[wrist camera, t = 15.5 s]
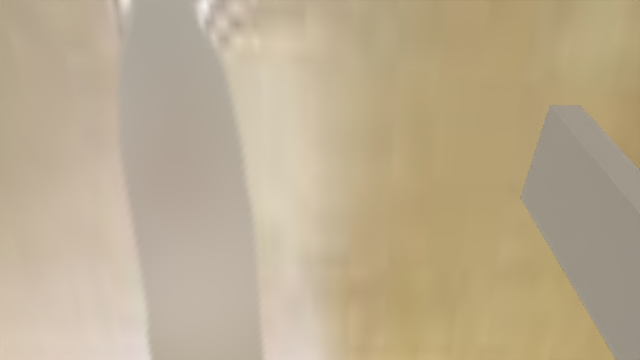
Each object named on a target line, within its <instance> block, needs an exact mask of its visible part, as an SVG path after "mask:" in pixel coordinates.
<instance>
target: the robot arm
mask: <svg viewBox="0 0 640 360" xmlns="http://www.w3.org/2000/svg"><path fill="white" fill-rule="evenodd" d="M520 198H521V200H522V201H523V203H524V205H525V206H526V208H527V210H528V211H529V213H530V215H531V217H532V218H533V220H534V222H535V223H536V225H537V227H538V228H539V230H540V232H541V234H542V235H543V237H544V239H545V240H546V242H547V244H548V245H549V247H550V249H551V251H552V252H553V254H554V256H555V257H556V259H557V261H558V262H559V264H560V266H561V267H562V269H563V271H564V273H565V274H566V276H567V278H568V279H569V281H570V283H571V284H572V286H573V288H574V290H575V291H576V293H577V295H578V296H579V298H580V300H581V301H582V303H583V305H584V307H585V308H586V310H587V312H588V313H589V315H590V317H591V318H592V320H593V322H594V324H595V325H596V327H597V329H598V330H599V332H600V334H601V335H602V337H603V339H604V340H605V342H606V344H607V346H608V347H609V349H610V351H611V352H612V354H613V356H614V357H615V359H616V360H640V170H639V169H638V168H637V167H636V166H635V164H634V163H633V162H632V161H631V160H630V159H629V158H628V157H627V156H626V155H625V154H624V152H623V151H622V150H621V149H620V148H619V147H618V146H617V145H616V144H615V143H614V142H613V140H612V139H611V138H610V137H609V136H608V135H607V134H606V133H605V132H604V131H603V130H602V128H601V127H600V126H599V125H598V124H597V123H596V122H595V121H594V120H593V119H592V118H591V116H590V115H589V114H588V113H587V112H586V111H585V110H584V109H583V108H582V107H581V106H580V105H550V106H549V109H548V112H547V115H546V118H545V122H544V125H543V128H542V131H541V134H540V137H539V140H538V144H537V147H536V150H535V153H534V156H533V159H532V163H531V166H530V169H529V172H528V175H527V178H526V182H525V185H524V188H523V191H522V194H521V197H520Z"/></svg>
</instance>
